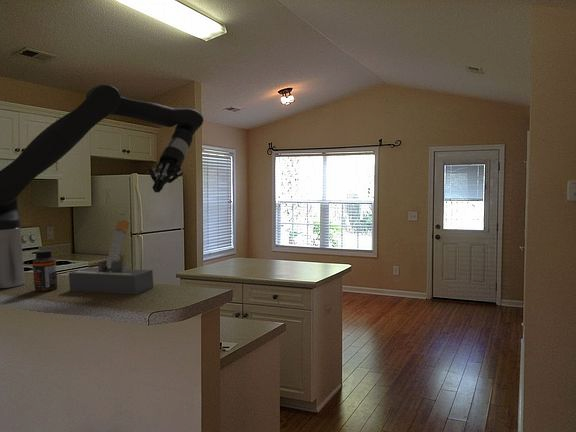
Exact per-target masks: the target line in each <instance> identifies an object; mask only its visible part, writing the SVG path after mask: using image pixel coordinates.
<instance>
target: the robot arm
mask: <svg viewBox="0 0 576 432" xmlns="http://www.w3.org/2000/svg"><path fill="white" fill-rule="evenodd" d="M109 115H111V116H120V117H125V118H131V119H135V120H140V121H143V122H146V123H150V124H154V125H158V126H161V127H166V128H173V127H174V126H175V127H174V128H175V129H174V132H173V134H172V135H171V137H170V140H169V141H168V142H167V143H166V145H165V147H164V148H163V151H162V153H161V155H160V157H159V161H158V163H157V164H156V166H155V167H154V168H153V169H152V167H150V168H148V173H149V175H150V177H151V180H152V181H153V182H154V184H153V185H152V186H151V187H152V190H153V192H154V193H161V191H162V190H163V188H164V185H166V184H167V183H168V184H171V183H173V182H174V181H175V180H177V179H178V178H179V177H181V176H182V175H183V174H184V172H183V169H182V166H183V165H182V164H183V163H184V161H185V158H186V156H187V154H188V152H189V149H190V147H191V145H192V142H193V136H194V134H195V133H196V132H197V131H198V129H200V127H201V126H202V125H203V123H204V117H203V115H202V114H201V112H200V111H198V110H196V109H193V108H188V107H171V106H167V105H163V104H161V103H155V102H149V101H144V100H136V99H132V98H127V97H124V96H121V93H120V91H119V90H118V89H117V87H115V86H113V85H110V84H106V83H105V84H104V83H103V84H99V85H96V86H94V87H92V88H91V89H89V90H88V91H87V93H86V95H85V99H84V101H83V102H81V104H79V105H78V106H77V107H76V108H75V109H73V110H72V111H70V112H68V113H67V114H65V115H63V116H62V117H59V118H58V119H57V120H56V121H54V122H53V123H51V124H49V126H47V127H46V128H45V129H44V130H42V131H41V132H40V133H39V134H38V135H36V136H35V137H34V138H33V139H32V140H31V142H30V143H29V144H28V145H26V146H25V148H24V149H23V150H22V152H21V153H20V154H19V155H18V156H17V157H16V159H14V160H13V161H12V162H11V163H9V164H7V165H6V166H5V167H3V168H2V169H1V170H0V289H9V288H14V287H19V286H23V285H24V284H25V283H26V282H25V281H26V280H25V271H24V269H25V268H24V267H25V266H24V258H23V257H24V256H23V247H22V246H23V245H22V244H23V243H22V234H21V231H22V230H21V220H20V215H19V208H18V207H19V206H18V196H19V195H20V194H21V193H22V192H23V191H24V190H25V189H26V187H28V185H29V184H30V183H31V182H32V181H34V179H35V178H37V177H38V176H39V175H41V174H42V173H44V172H45V171H46V170H48V169H49V168H50V167H52V166H53V165H55V164H56V163H57V162H58V161H59V160H61V159H62V158H63V157H64V156H65V155H67V153H69V152H70V151H71V150H72V149H73V148H74V147H75V146H76V145H77V144H78V143H80V142H81V140H82V139H83V138H84V137H85V136H86V135H87V134H88V133H89V131H91V130H92V129H93V128H94V127H95V126H96V125H97V124H98V123H100V122H101V121H102V120H103V119H105V118H107V117H108V116H109Z"/></svg>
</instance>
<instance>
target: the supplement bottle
mask: <svg viewBox="0 0 576 432" xmlns="http://www.w3.org/2000/svg"><path fill="white" fill-rule="evenodd" d="M32 272H33V285H34V291H36V292H41V293H44V292H52V291H54V290H56V289H57V288H58V273H57V260H56V258H55V257H54V256H52V250H51V249H41V250H36V251H35V258H33V261H32ZM51 290H52V291H51Z"/></svg>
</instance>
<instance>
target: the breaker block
mask: <svg viewBox="0 0 576 432" xmlns="http://www.w3.org/2000/svg"><path fill="white" fill-rule="evenodd" d="M122 262H123V261H122V260H121V259H120V260H119V259H118V260H117V261H114V262H111V269H112V271H107V270H106V269H105V266H106V263H107V259H103V260H100V261H97V263H98V264H97V265H98V267H87V268H83V269H79V270H76V271H72V272H68V279H69V291H71V292H72V291H74V292H87V293H90V292H91V293H103V294H104V293H106V294H107V293H108V294H118V295H119V294H121V295H123V294H124V295H138V294H140V293H143V292H146V291H148V290H151V289H153V288H154V279H153V278H154V276H153V275H154V274H153V269H134V268H133V269H131V268H130V269H129V268H123V263H122Z"/></svg>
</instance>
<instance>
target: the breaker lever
mask: <svg viewBox="0 0 576 432" xmlns="http://www.w3.org/2000/svg"><path fill="white" fill-rule="evenodd" d="M129 227H130V222H129V221H127V220H117V222H116V225H115V229H114V231H115V233H114V236H113V240H112V242H111V246H110V250H109V253H108V256H107V259H106V260H107V263H106V266H105V269H106V270H107V271H112V269H111V262H114V261H117V260H119V256H120V253H121V250H122V246H123V242H124V239H125V235H126V234H127V233H128V230H129Z"/></svg>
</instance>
